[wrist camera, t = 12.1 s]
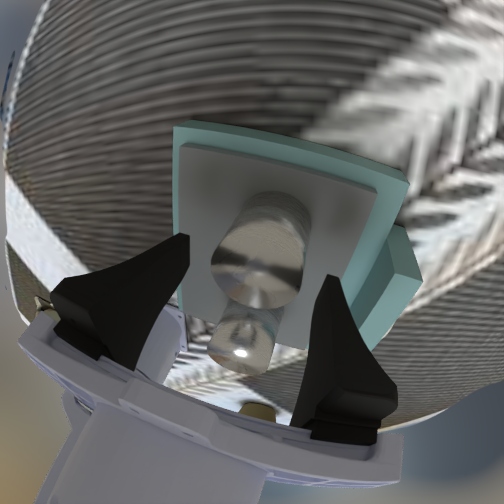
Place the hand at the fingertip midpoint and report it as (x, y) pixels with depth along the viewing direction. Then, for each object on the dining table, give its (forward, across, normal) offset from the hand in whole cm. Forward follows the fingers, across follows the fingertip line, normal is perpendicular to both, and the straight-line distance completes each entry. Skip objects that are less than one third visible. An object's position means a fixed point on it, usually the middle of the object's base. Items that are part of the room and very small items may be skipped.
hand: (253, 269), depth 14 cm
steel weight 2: (+4, 0, +8) cm, 9 cm away
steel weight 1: (+4, 0, 0) cm, 4 cm away
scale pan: (+5, +1, +4) cm, 7 cm away
